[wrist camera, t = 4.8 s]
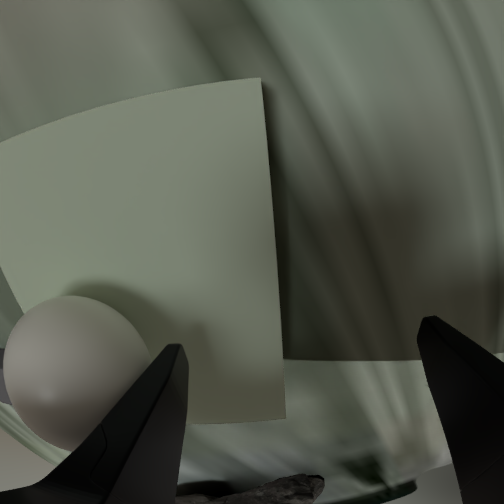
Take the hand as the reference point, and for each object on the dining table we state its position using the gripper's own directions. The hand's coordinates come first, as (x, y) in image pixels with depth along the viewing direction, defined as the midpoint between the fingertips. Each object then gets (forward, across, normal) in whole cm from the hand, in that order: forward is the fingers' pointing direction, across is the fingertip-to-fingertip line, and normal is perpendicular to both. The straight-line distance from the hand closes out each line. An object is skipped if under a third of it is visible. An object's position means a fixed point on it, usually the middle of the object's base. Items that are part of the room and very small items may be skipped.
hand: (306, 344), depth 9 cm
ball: (-1, +7, 0) cm, 7 cm away
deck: (+3, +10, 0) cm, 10 cm away
